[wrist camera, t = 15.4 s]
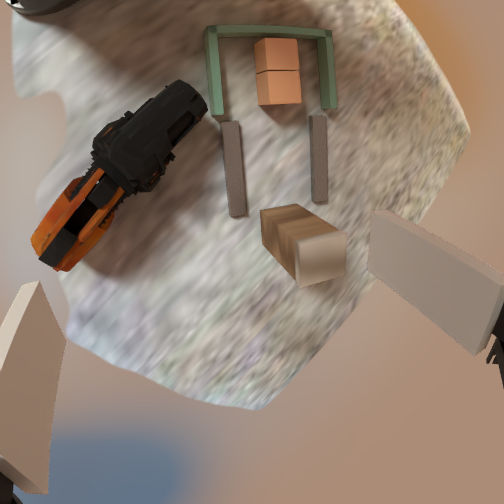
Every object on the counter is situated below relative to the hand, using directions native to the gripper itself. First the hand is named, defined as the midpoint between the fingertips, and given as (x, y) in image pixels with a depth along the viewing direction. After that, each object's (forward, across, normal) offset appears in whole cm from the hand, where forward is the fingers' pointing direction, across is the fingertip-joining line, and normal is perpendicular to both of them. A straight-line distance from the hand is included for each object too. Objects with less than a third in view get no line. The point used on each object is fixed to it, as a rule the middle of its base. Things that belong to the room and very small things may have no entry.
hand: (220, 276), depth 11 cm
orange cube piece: (+29, +14, +12) cm, 34 cm away
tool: (+29, -6, +1) cm, 30 cm away
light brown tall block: (+29, +14, -11) cm, 34 cm away
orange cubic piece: (+29, +14, +8) cm, 33 cm away
